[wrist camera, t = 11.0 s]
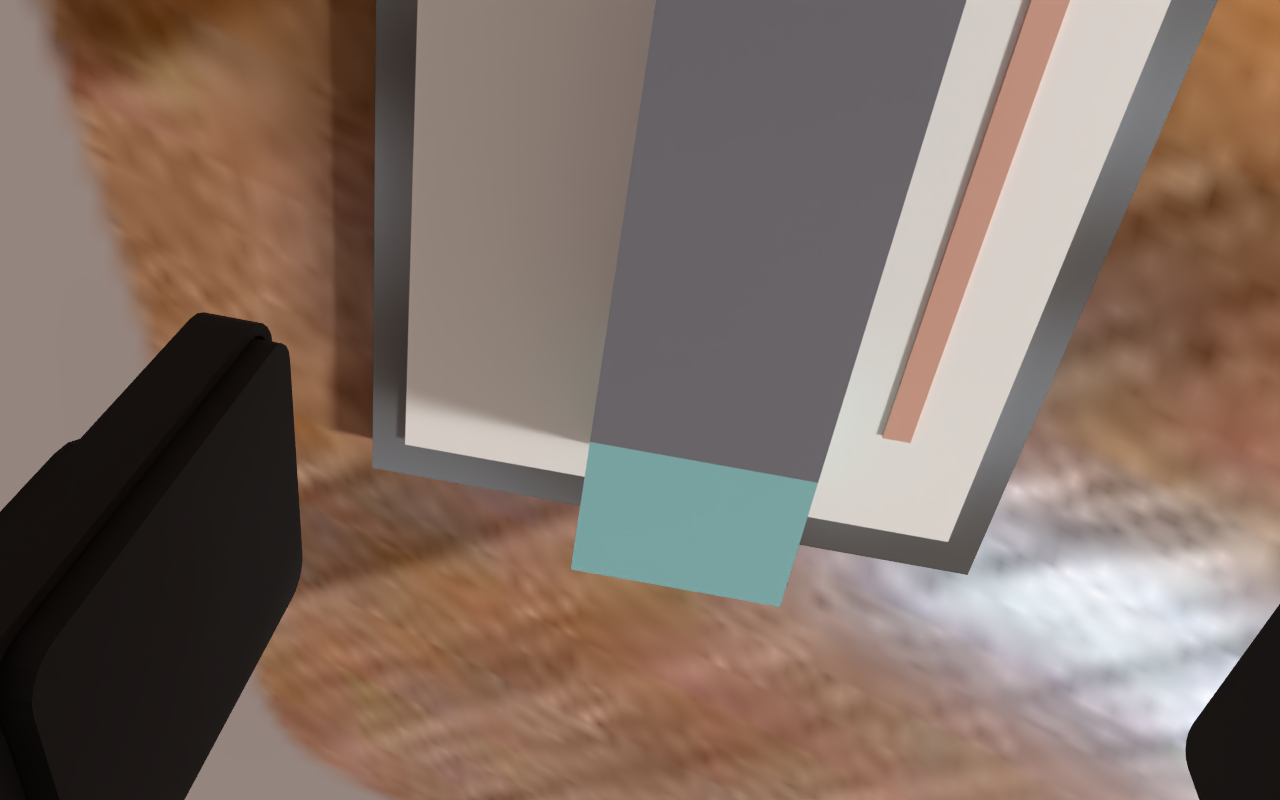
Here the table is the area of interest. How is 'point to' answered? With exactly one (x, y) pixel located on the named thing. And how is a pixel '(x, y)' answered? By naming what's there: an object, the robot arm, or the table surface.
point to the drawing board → (592, 223)
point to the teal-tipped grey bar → (748, 276)
